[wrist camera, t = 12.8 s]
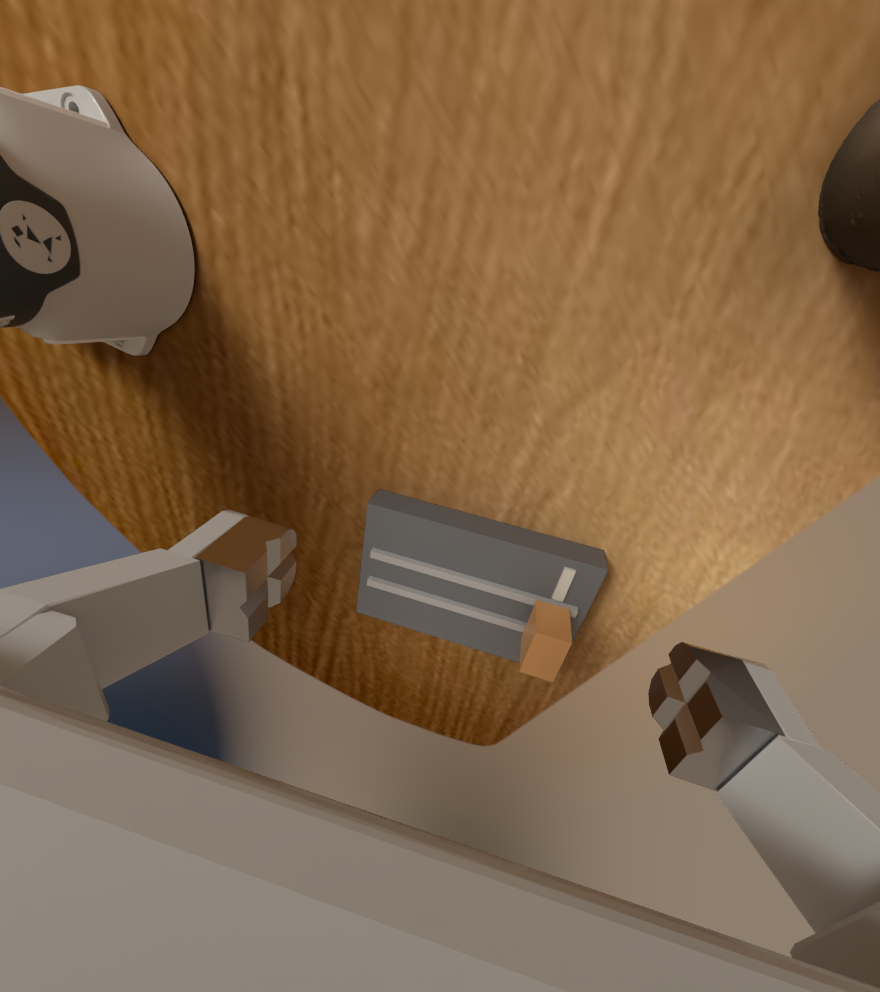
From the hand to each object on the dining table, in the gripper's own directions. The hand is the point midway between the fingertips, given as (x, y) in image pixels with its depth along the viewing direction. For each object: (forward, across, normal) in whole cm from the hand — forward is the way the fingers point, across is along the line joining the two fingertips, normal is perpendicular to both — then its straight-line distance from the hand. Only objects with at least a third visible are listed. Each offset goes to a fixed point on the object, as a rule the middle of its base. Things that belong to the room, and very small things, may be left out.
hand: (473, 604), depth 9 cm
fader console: (+27, -1, +21) cm, 34 cm away
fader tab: (+23, -9, +21) cm, 32 cm away
